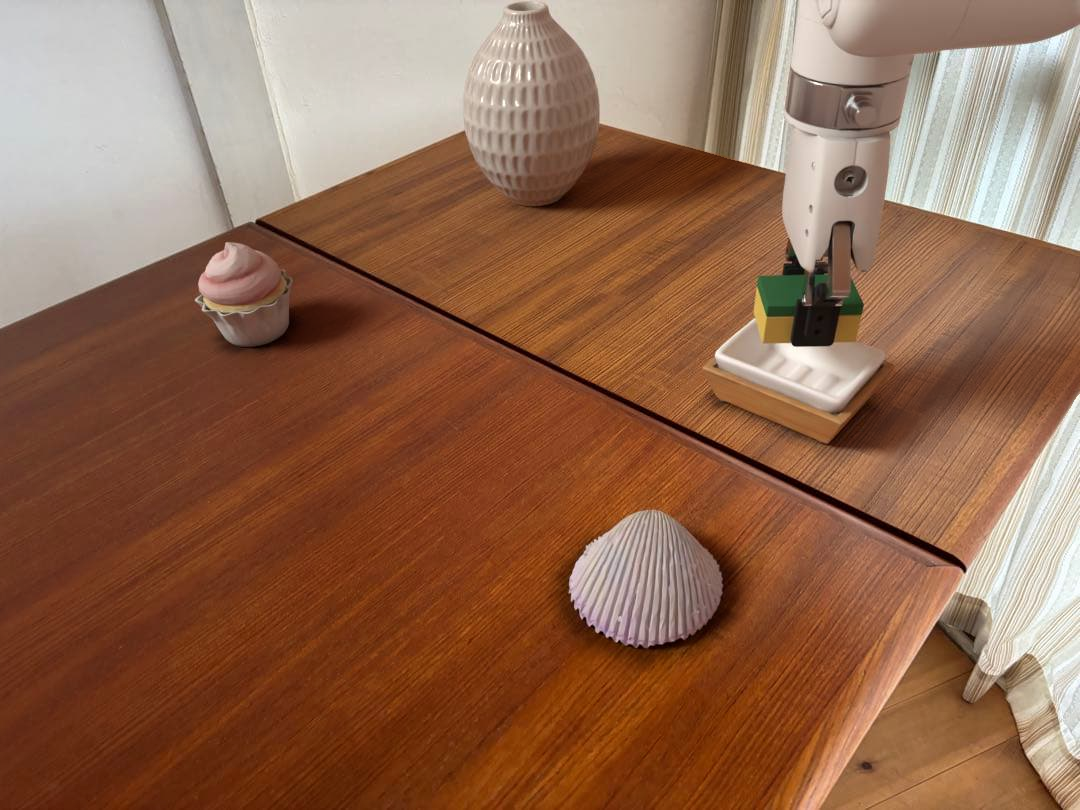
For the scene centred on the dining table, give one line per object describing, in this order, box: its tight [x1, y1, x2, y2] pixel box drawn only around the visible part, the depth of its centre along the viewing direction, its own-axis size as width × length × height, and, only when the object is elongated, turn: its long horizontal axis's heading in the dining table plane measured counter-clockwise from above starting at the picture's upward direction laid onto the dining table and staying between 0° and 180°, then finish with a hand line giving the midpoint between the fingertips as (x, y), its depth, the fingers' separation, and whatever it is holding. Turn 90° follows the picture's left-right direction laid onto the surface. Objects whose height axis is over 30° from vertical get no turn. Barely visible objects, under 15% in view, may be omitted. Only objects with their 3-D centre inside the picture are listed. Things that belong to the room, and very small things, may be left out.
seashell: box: [568, 509, 724, 649], centre depth 57 cm, size 10×6×10 cm
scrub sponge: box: [753, 274, 865, 344], centre depth 67 cm, size 7×5×4 cm, turn 88°
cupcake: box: [194, 241, 293, 348], centre depth 82 cm, size 9×9×10 cm
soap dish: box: [702, 317, 896, 445], centre depth 71 cm, size 12×10×5 cm
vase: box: [462, 0, 601, 207], centre depth 100 cm, size 16×16×22 cm
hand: (804, 323), depth 68 cm, fingers closed on scrub sponge, 4 cm apart
